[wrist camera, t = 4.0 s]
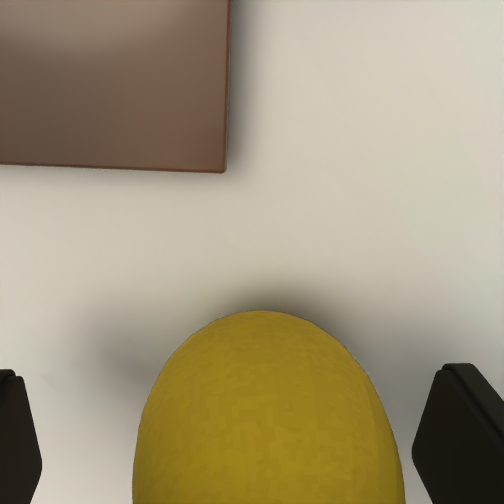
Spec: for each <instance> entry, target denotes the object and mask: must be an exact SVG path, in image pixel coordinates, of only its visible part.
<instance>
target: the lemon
mask: <svg viewBox="0 0 504 504" xmlns="http://www.w3.org/2000/svg"><path fill="white" fill-rule="evenodd" d="M132 499H133V504H406V503H405V490H404V481H403V474H402V467H401V462H400V457H399V453H398V448H397V445H396V441H395V438H394V434H393V431H392V429H391V426H390V423H389V421H388V418H387V416H386V413H385V411H384V408H383V406H382V403H381V401H380V398H379V396H378V394H377V392H376V390H375V388H374V386H373V384H372V382H371V381H370V379H369V377H368V376H367V374H366V373H365V371H364V370H363V369H362V368H361V366H360V365H359V364H358V363H357V361H356V360H355V359H354V358H353V357H352V356H351V354H350V353H349V352H348V351H347V350H346V349H345V347H344V346H343V345H342V344H341V343H340V342H339V341H338V340H337V339H336V338H334V337H333V336H331V335H330V334H328V333H327V332H325V331H324V330H322V329H321V328H319V327H318V326H316V325H315V324H313V323H312V322H310V321H307V320H304V319H301V318H298V317H295V316H293V315H290V314H287V313H284V312H275V311H265V310H257V311H248V312H239V313H235V314H232V315H229V316H226V317H223V318H220V319H217V320H215V321H213V322H212V323H210V324H209V325H207V326H205V327H204V328H202V329H200V330H199V331H197V332H196V333H194V334H192V335H191V336H190V337H189V338H188V339H187V340H186V341H185V342H184V343H183V344H182V345H181V346H180V347H179V348H178V349H177V350H176V351H175V353H174V354H173V355H172V356H171V357H170V358H169V359H168V361H167V362H166V364H165V366H164V367H163V369H162V371H161V373H160V375H159V377H158V378H157V380H156V382H155V384H154V386H153V388H152V390H151V392H150V394H149V396H148V398H147V401H146V404H145V407H144V410H143V413H142V417H141V421H140V425H139V431H138V438H137V444H136V451H135V457H134V464H133V479H132Z"/></svg>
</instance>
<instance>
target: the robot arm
mask: <svg viewBox="0 0 504 504" xmlns="http://www.w3.org/2000/svg"><path fill="white" fill-rule="evenodd" d="M412 459H413V463H414V465H415V467H416V469H417V471H418V474H419V476H420V478H421V480H422V482H423V484H424V486H425V488H426V490H427V492H428V494H429V496H430V499H431V501H432V503H433V504H504V401H503V400H502V399H501V397H500V396H499V395H498V394H497V393H496V391H495V390H494V389H493V388H492V386H491V385H490V384H489V383H488V381H487V380H486V379H485V378H484V377H483V375H482V374H481V373H480V372H479V370H478V369H477V368H476V367H475V366H474V365H473V364H470V363H449V364H445V365H444V366H443V367H442V369H441V370H438V371H437V372H436V374H435V377H434V380H433V383H432V386H431V389H430V393H429V396H428V399H427V402H426V405H425V408H424V411H423V414H422V417H421V421H420V424H419V427H418V430H417V433H416V436H415V439H414V442H413V445H412ZM41 471H42V458H41V454H40V449H39V445H38V441H37V436H36V432H35V427H34V423H33V419H32V414H31V410H30V405H29V401H28V396H27V392H26V388H25V383H24V380H23V378H22V377H21V376H16V375H15V372H14V371H13V370H11V369H0V504H30V503H31V500H32V497H33V495H34V492H35V490H36V487H37V485H38V482H39V479H40V476H41Z"/></svg>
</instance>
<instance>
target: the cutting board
mask: <svg viewBox="0 0 504 504" xmlns="http://www.w3.org/2000/svg"><path fill="white" fill-rule="evenodd" d="M231 18H232V0H0V165H21V166H46V167H71V168H95V169H120V170H145V171H169V172H194V173H219V174H222V173H225V171H226V164H227V135H228V106H229V77H230V48H231Z"/></svg>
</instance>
